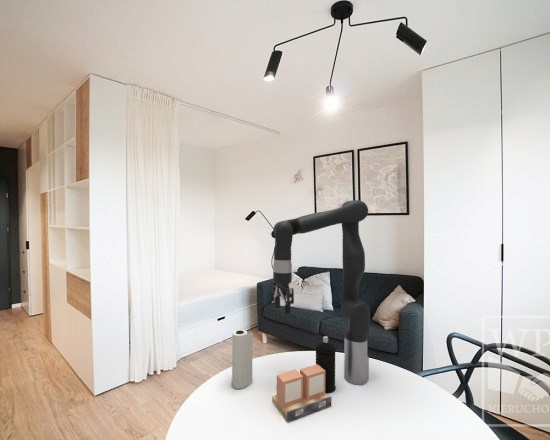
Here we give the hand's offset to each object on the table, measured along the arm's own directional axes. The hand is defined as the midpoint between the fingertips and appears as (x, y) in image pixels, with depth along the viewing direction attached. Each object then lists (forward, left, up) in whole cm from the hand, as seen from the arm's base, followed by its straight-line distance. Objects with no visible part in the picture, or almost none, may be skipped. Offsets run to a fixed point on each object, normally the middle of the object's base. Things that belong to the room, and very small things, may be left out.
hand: (282, 310), depth 111 cm
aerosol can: (-15, +9, -30) cm, 35 cm away
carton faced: (-6, +13, -28) cm, 32 cm away
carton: (+4, +12, -28) cm, 31 cm away
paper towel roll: (+15, -7, -30) cm, 35 cm away
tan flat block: (-1, +13, -30) cm, 33 cm away
